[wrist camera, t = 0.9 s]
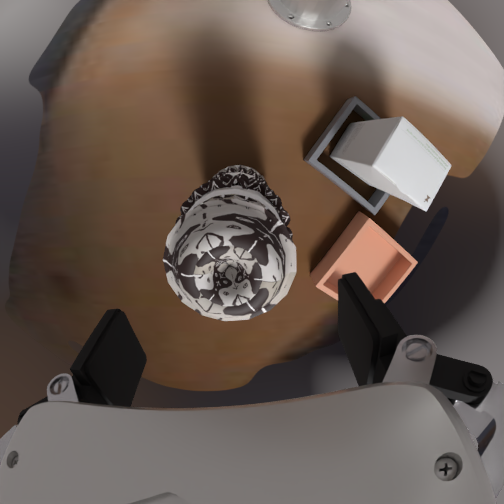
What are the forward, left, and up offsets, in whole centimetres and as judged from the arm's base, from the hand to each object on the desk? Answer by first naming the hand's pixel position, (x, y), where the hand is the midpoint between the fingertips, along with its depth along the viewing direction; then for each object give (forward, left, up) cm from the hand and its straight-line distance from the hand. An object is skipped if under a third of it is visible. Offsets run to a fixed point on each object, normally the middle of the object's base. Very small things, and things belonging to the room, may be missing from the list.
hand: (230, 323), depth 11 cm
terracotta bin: (-2, +22, -29) cm, 37 cm away
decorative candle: (0, 0, -30) cm, 30 cm away
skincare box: (-15, +11, -30) cm, 35 cm away
